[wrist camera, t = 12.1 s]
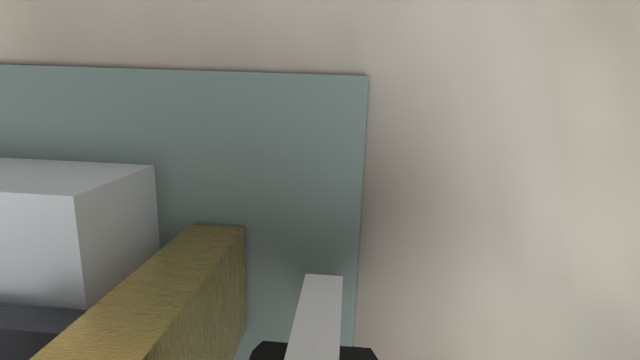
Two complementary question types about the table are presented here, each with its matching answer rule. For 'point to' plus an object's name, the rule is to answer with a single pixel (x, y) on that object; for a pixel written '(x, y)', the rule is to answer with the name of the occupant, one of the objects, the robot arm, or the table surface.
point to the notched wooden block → (168, 305)
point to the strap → (31, 328)
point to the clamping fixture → (179, 181)
